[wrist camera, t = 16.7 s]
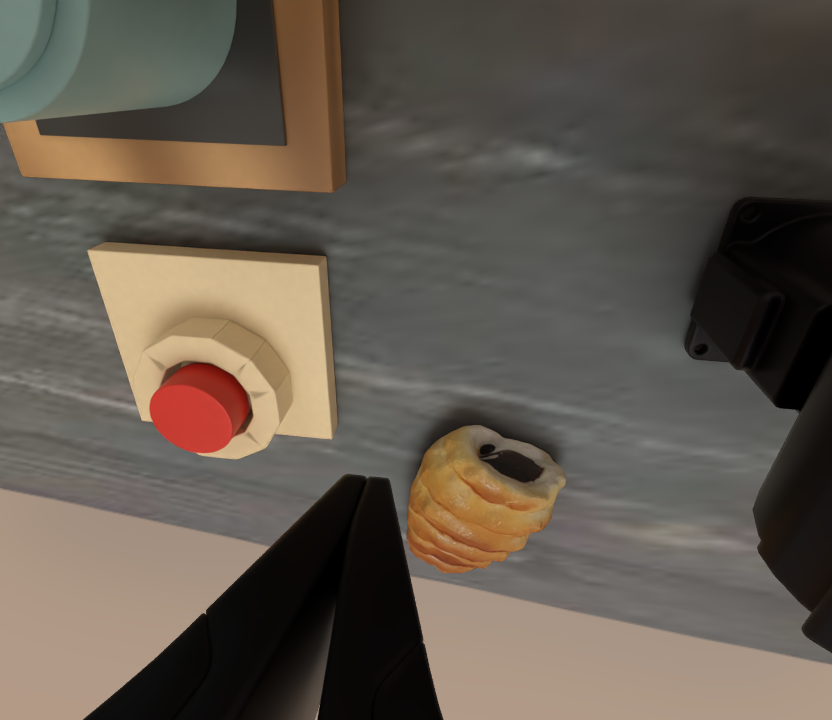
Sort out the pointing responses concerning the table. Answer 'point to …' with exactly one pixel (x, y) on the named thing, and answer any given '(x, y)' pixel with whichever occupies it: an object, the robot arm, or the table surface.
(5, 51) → the kettle
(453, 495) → the pastry
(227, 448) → the switch block
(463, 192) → the table surface
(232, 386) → the button
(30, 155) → the stand
